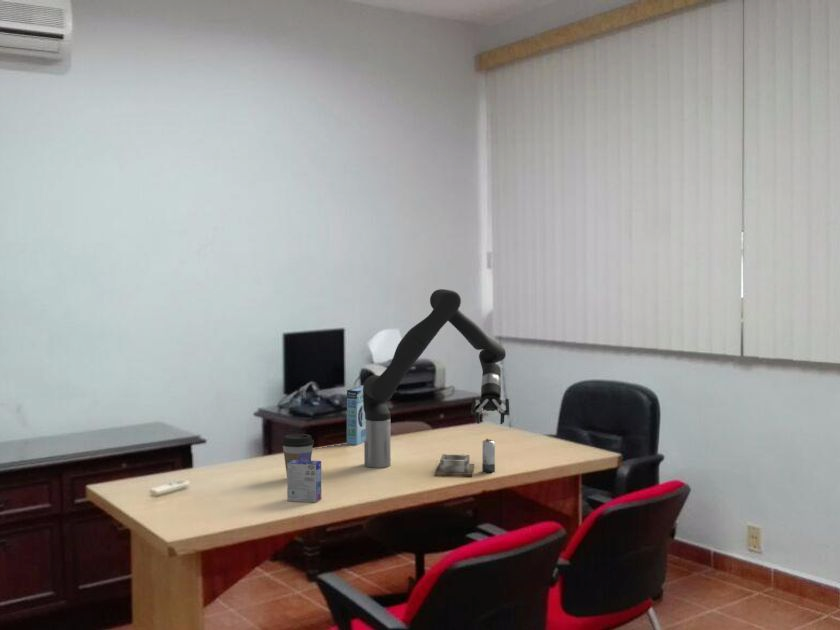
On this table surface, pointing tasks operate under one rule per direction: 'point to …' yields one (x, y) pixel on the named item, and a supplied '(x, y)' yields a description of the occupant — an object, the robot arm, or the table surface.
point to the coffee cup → (296, 446)
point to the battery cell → (488, 456)
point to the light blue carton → (355, 416)
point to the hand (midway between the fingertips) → (489, 422)
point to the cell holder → (454, 466)
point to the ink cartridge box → (304, 480)
